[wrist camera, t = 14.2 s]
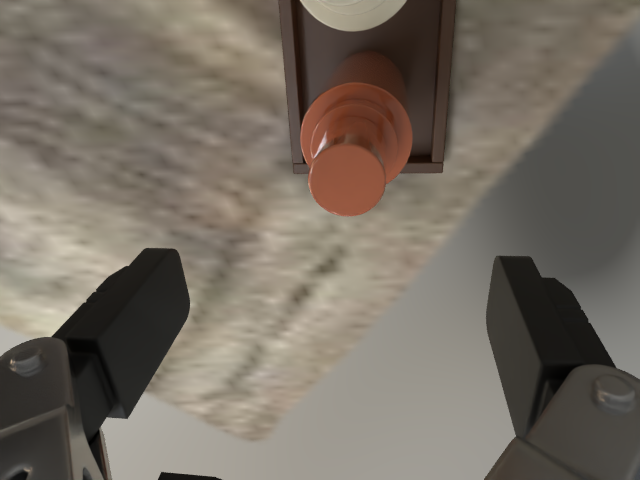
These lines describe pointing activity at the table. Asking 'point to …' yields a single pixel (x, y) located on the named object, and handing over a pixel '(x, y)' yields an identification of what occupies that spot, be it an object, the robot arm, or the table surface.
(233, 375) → the table surface
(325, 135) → the terracotta bottle
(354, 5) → the cream bottle
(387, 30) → the tray
